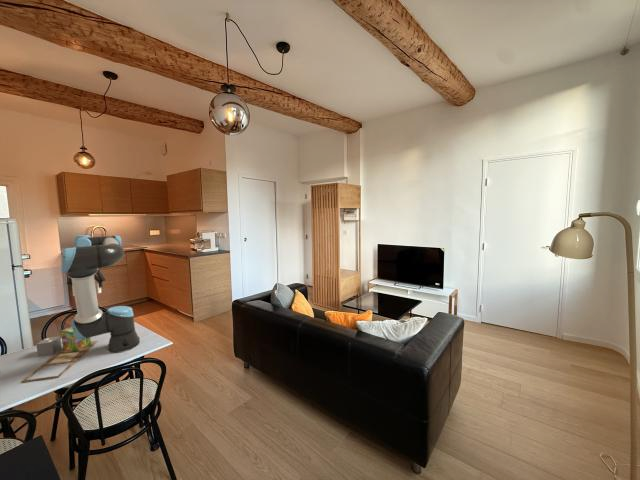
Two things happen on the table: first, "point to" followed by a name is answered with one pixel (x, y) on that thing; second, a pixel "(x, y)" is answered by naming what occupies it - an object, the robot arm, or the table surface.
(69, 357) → the board
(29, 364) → the table surface
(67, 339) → the chalk box
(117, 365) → the table surface
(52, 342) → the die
